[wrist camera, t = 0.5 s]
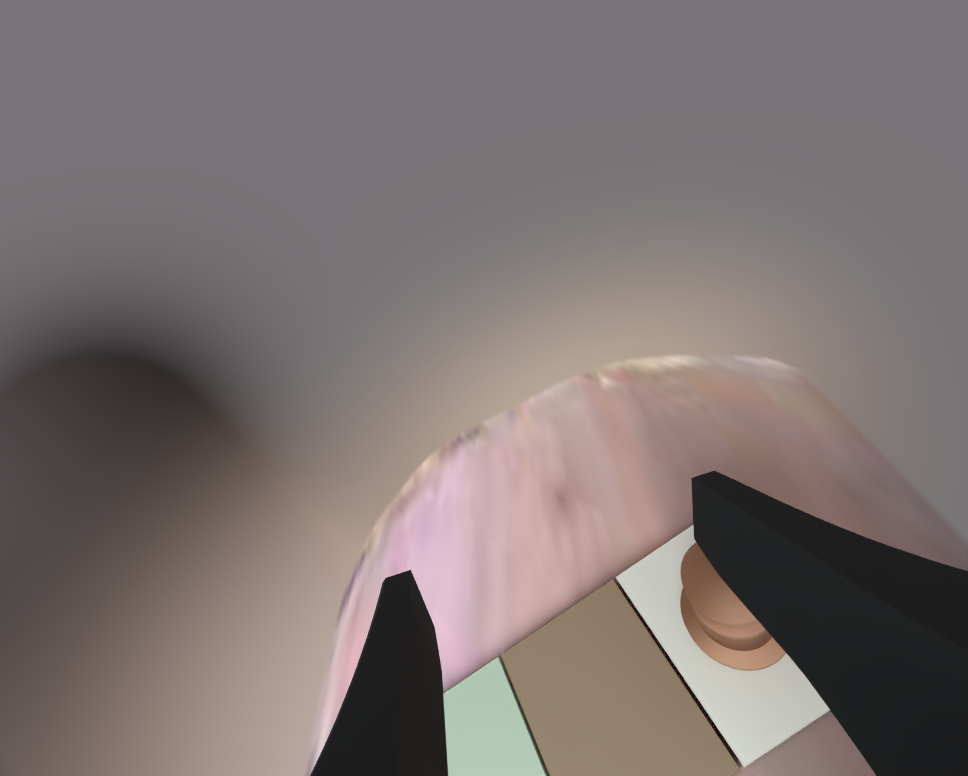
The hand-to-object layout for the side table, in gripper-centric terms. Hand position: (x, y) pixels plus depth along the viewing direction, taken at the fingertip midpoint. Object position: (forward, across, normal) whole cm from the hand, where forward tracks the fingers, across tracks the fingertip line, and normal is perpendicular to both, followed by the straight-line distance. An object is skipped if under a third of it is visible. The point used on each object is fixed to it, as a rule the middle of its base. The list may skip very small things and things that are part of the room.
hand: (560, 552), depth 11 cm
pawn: (+7, -10, +15) cm, 19 cm away
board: (+6, -2, +18) cm, 20 cm away
